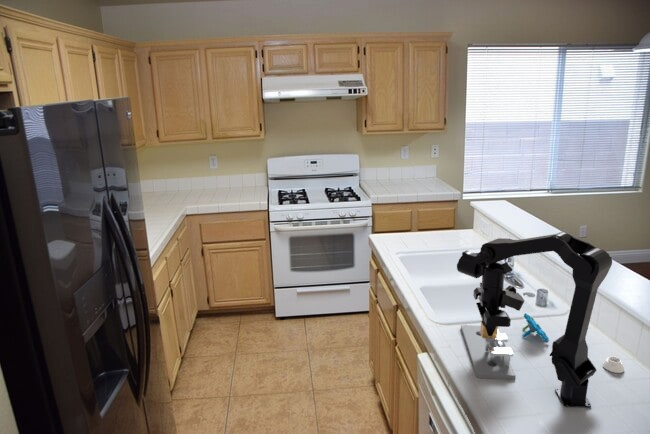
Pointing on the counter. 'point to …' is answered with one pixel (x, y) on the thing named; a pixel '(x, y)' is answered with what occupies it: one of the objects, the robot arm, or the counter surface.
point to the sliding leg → (494, 338)
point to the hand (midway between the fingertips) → (488, 332)
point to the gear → (534, 328)
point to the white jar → (613, 364)
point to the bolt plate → (484, 355)
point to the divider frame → (500, 353)
